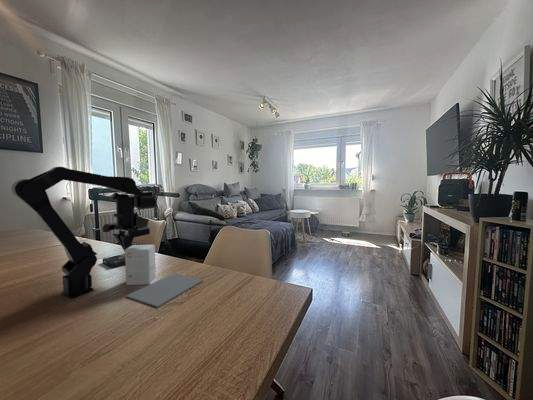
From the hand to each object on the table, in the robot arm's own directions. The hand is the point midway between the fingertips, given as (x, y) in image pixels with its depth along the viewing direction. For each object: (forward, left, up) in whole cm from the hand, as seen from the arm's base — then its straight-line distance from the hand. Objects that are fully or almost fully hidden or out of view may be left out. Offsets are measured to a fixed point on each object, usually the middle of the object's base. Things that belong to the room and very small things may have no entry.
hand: (126, 251), depth 88 cm
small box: (0, -8, -10) cm, 13 cm away
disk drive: (+11, +17, -11) cm, 23 cm away
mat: (0, -21, -10) cm, 23 cm away
